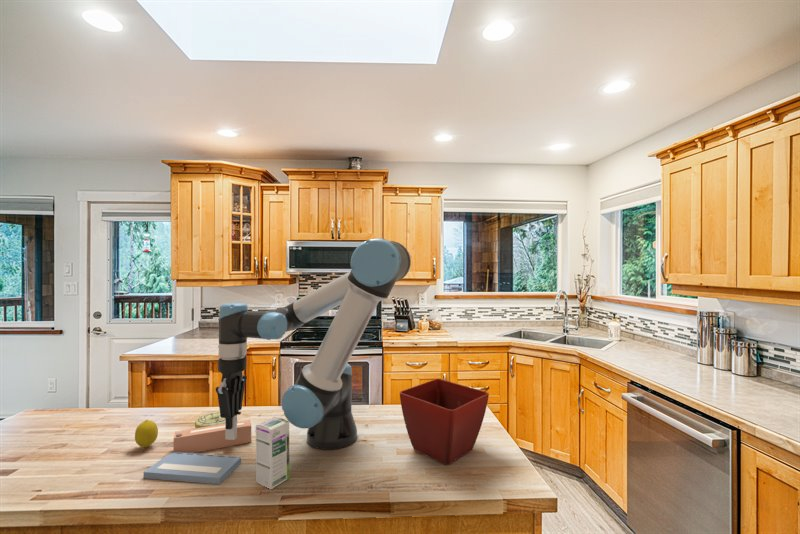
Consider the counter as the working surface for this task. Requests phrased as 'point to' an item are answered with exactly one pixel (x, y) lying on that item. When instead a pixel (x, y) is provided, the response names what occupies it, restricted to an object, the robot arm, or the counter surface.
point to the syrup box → (272, 452)
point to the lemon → (146, 433)
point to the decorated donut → (209, 420)
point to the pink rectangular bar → (210, 438)
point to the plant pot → (443, 418)
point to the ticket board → (193, 467)
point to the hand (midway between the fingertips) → (230, 438)
